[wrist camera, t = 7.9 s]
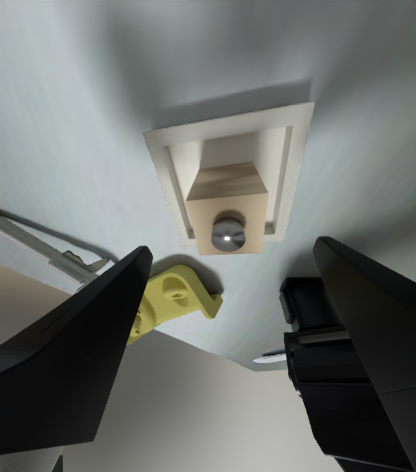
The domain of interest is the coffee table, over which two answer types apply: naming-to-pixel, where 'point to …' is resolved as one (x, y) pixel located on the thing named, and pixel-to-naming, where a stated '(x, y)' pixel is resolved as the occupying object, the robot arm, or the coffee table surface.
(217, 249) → the block
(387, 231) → the coffee table surface
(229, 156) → the housing tray
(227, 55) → the coffee table surface
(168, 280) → the plastic component
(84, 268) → the caliper
